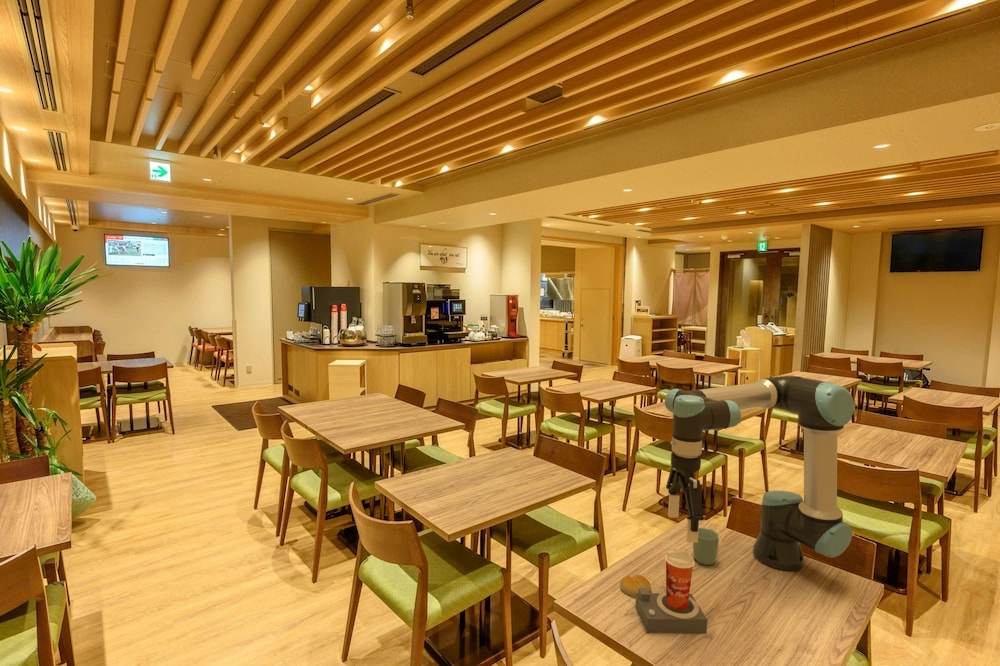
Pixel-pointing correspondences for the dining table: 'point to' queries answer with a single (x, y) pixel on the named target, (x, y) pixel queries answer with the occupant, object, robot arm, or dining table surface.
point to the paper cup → (678, 578)
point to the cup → (706, 546)
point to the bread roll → (634, 584)
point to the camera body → (668, 614)
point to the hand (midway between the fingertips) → (682, 528)
